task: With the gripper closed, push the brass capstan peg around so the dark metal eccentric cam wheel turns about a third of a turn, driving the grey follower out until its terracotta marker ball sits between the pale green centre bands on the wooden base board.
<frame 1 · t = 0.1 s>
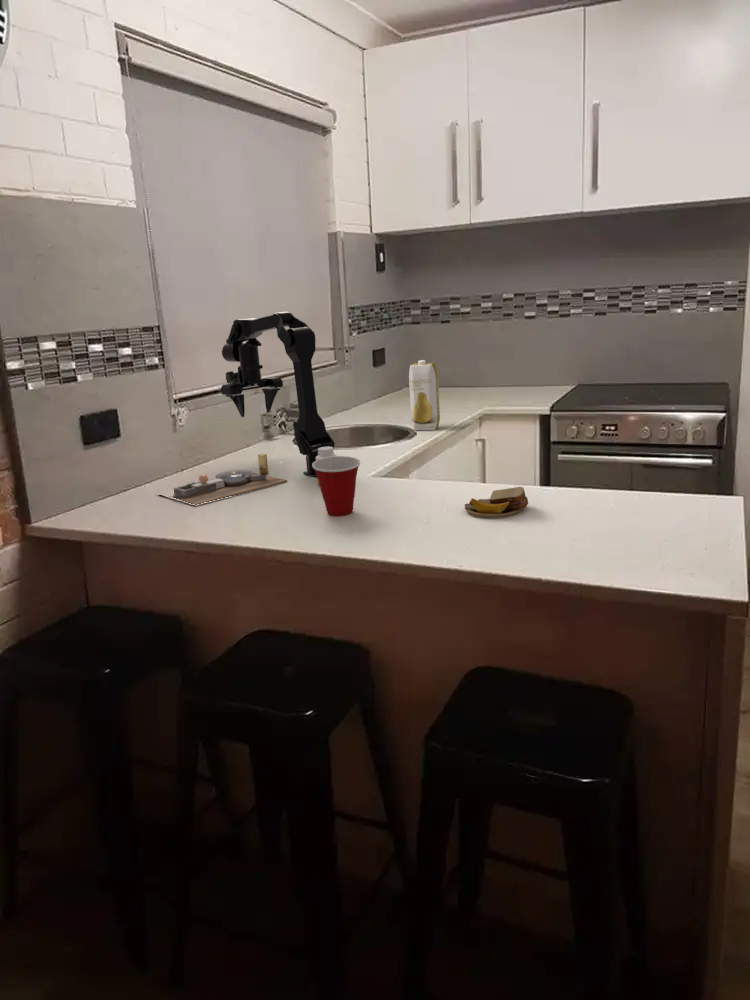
hand: (255, 414, 227), 15 cm above the countertop, tool pointing down, fingers open, 9 cm apart
toy sandwich meal: (496, 512, 165), on the countertop
supplement bottle: (329, 487, 195), on the countertop
cam wheel: (238, 468, 205), point 4 cm above the countertop, hinge at 0.0°
plastic cup: (340, 513, 171), on the countertop
juice carton: (426, 429, 265), on the countertop
wooden base board: (235, 485, 204), on the countertop
follower: (207, 481, 198), point 3 cm above the countertop, slide at 0.0 cm
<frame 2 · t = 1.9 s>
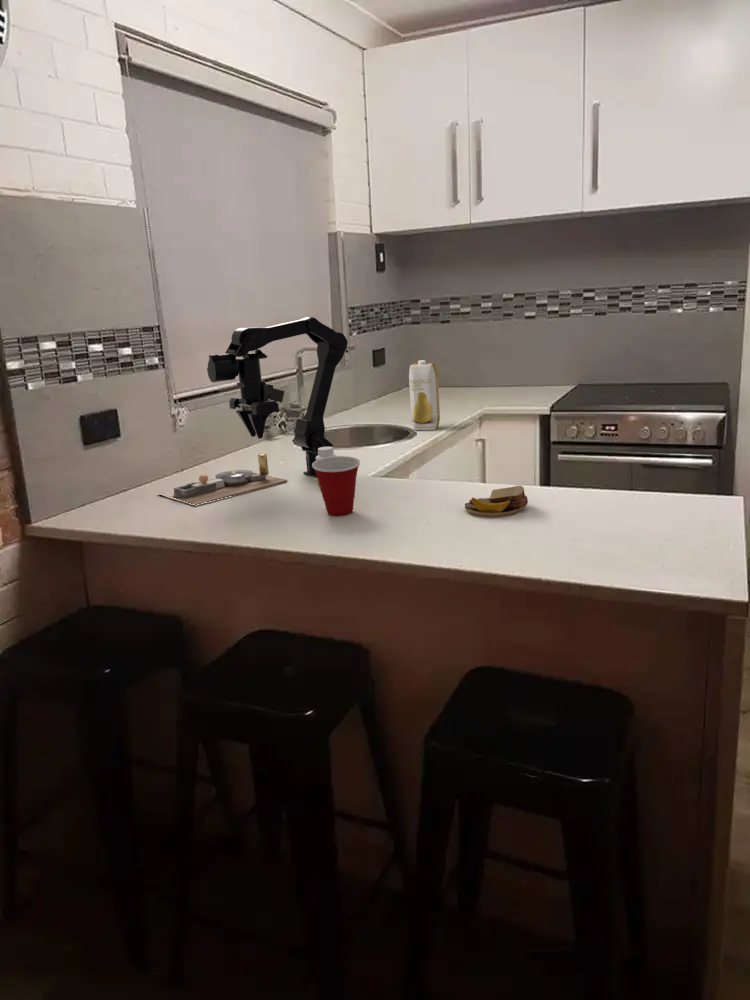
hand: (257, 437, 198), 13 cm above the countertop, tool pointing down, fingers open, 4 cm apart
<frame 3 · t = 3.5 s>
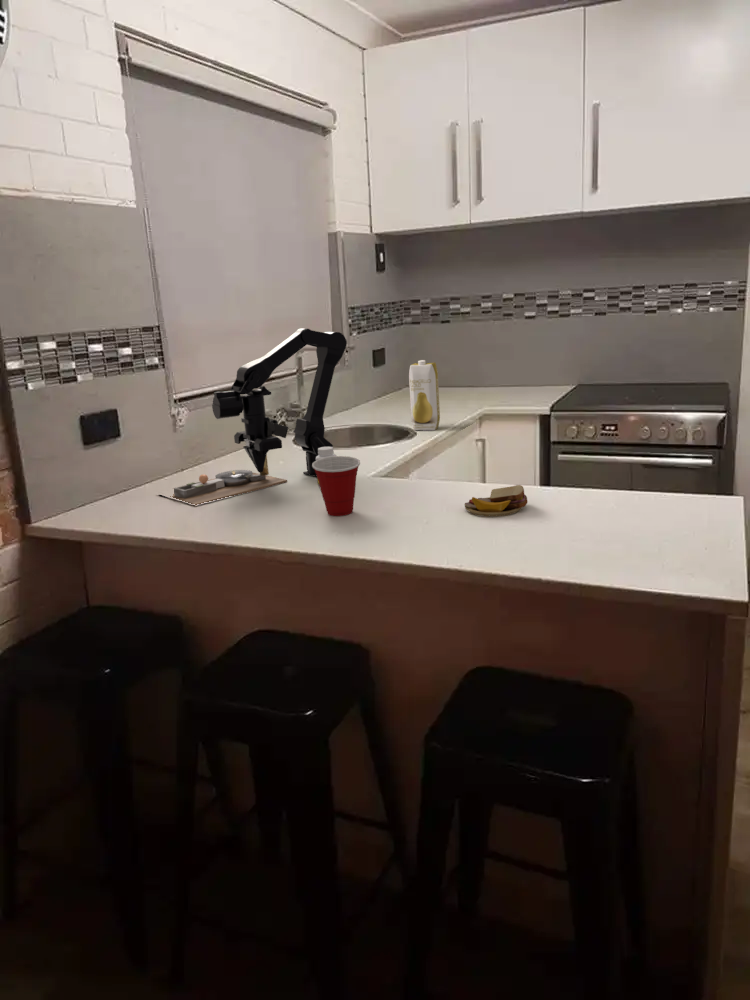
hand: (260, 472, 201), 4 cm above the countertop, tool pointing down, fingers closed
cam wheel: (238, 468, 205), point 4 cm above the countertop, hinge at 0.6°, touching gripper
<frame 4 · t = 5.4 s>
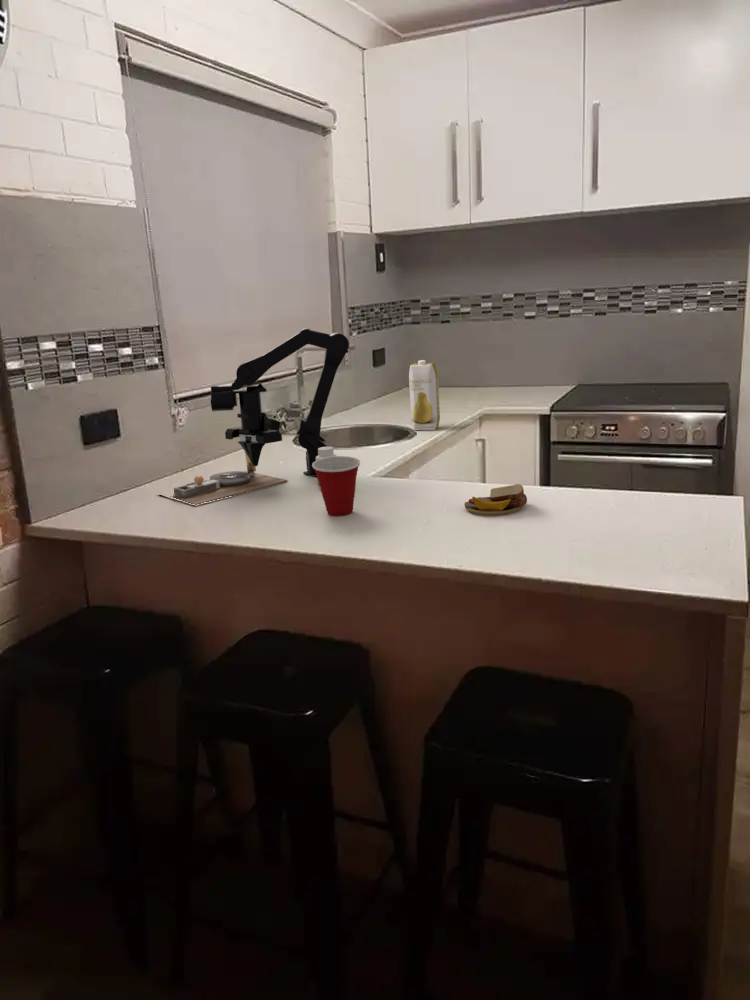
hand: (255, 466, 207), 4 cm above the countertop, tool pointing down, fingers closed
cam wheel: (231, 468, 205), point 4 cm above the countertop, hinge at 51.2°, touching gripper
follower: (202, 482, 197), point 3 cm above the countertop, slide at 1.4 cm
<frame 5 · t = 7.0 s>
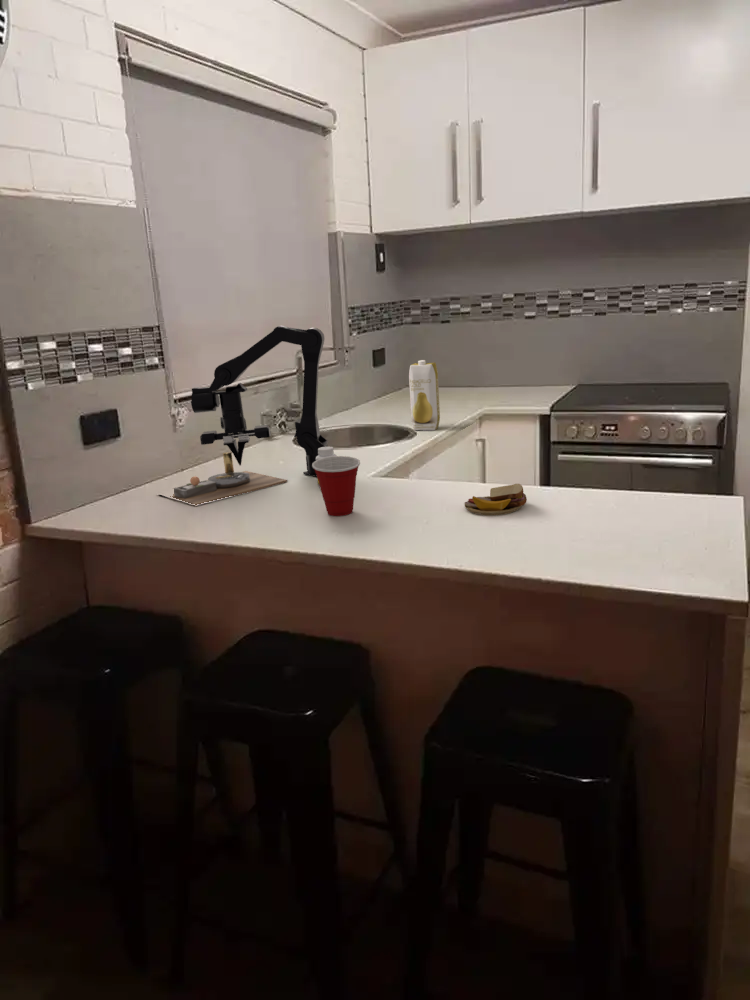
hand: (240, 465, 210), 4 cm above the countertop, tool pointing down, fingers closed
cam wheel: (226, 470, 203), point 4 cm above the countertop, hinge at 97.5°, touching gripper
follower: (198, 483, 196), point 3 cm above the countertop, slide at 2.5 cm
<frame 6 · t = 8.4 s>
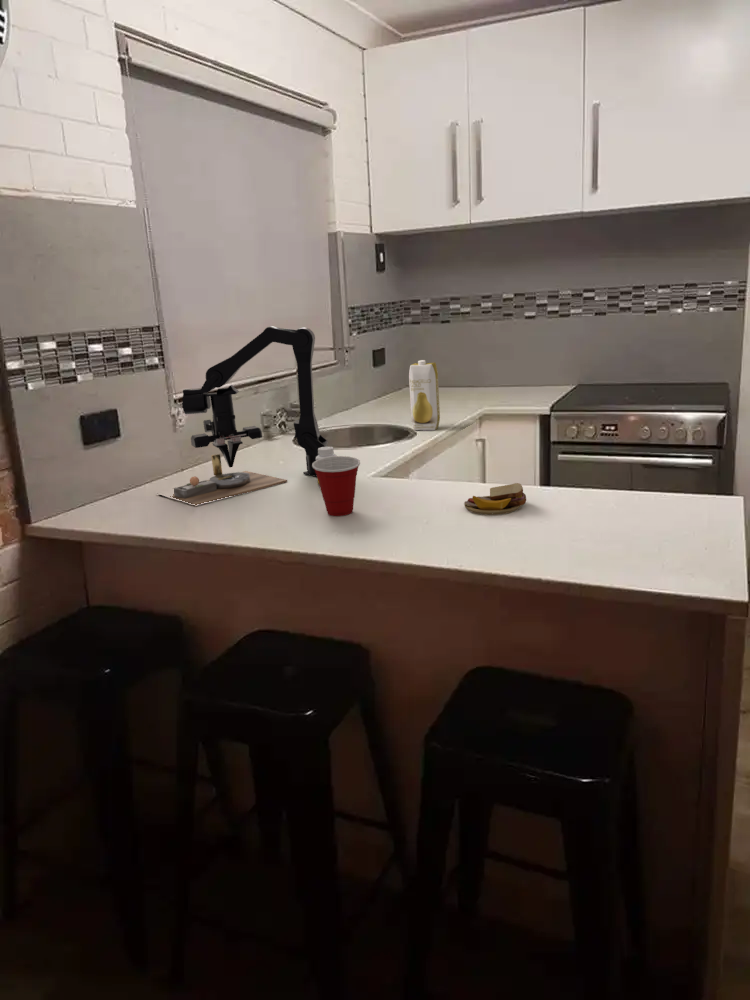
hand: (230, 467, 210), 3 cm above the countertop, tool pointing down, fingers closed
cam wheel: (225, 470, 203), point 4 cm above the countertop, hinge at 121.8°
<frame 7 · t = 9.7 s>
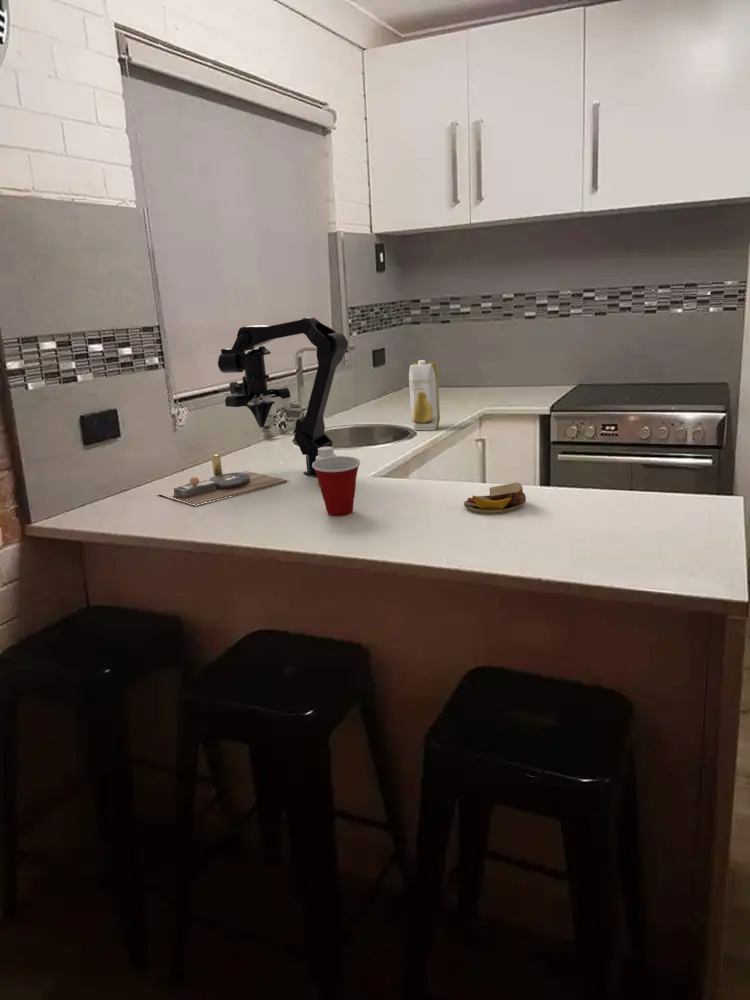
hand: (261, 427, 214), 13 cm above the countertop, tool pointing down, fingers closed
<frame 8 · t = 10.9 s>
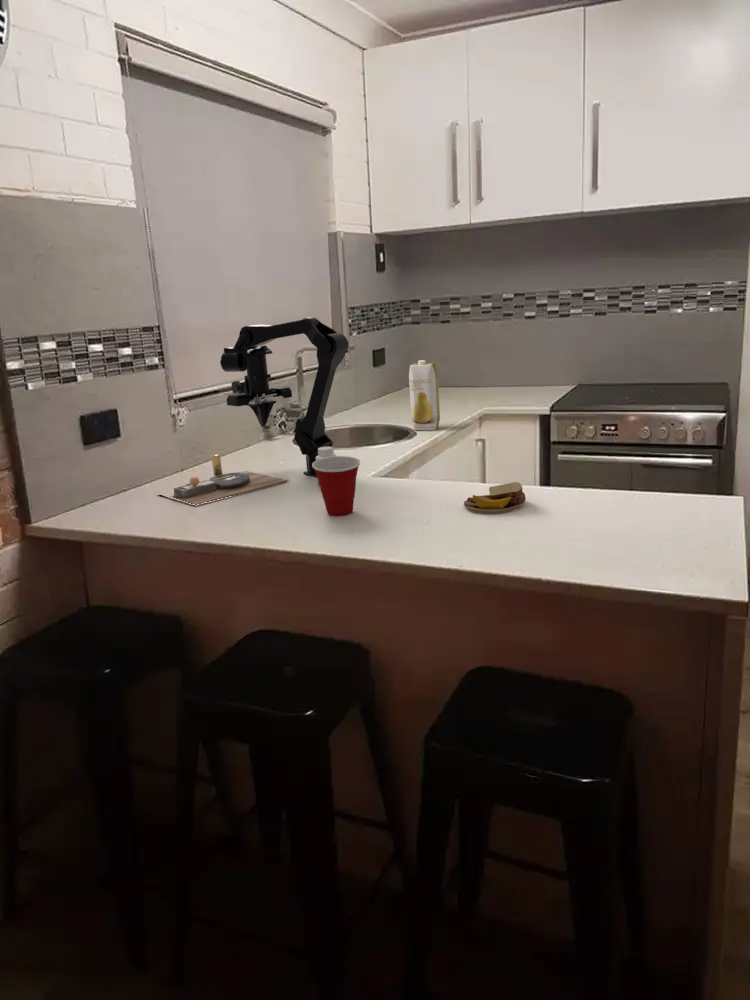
hand: (263, 426, 214), 13 cm above the countertop, tool pointing down, fingers closed
at the end: cam wheel at +122° (first picture: +0°); follower slide at 2.7 cm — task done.
